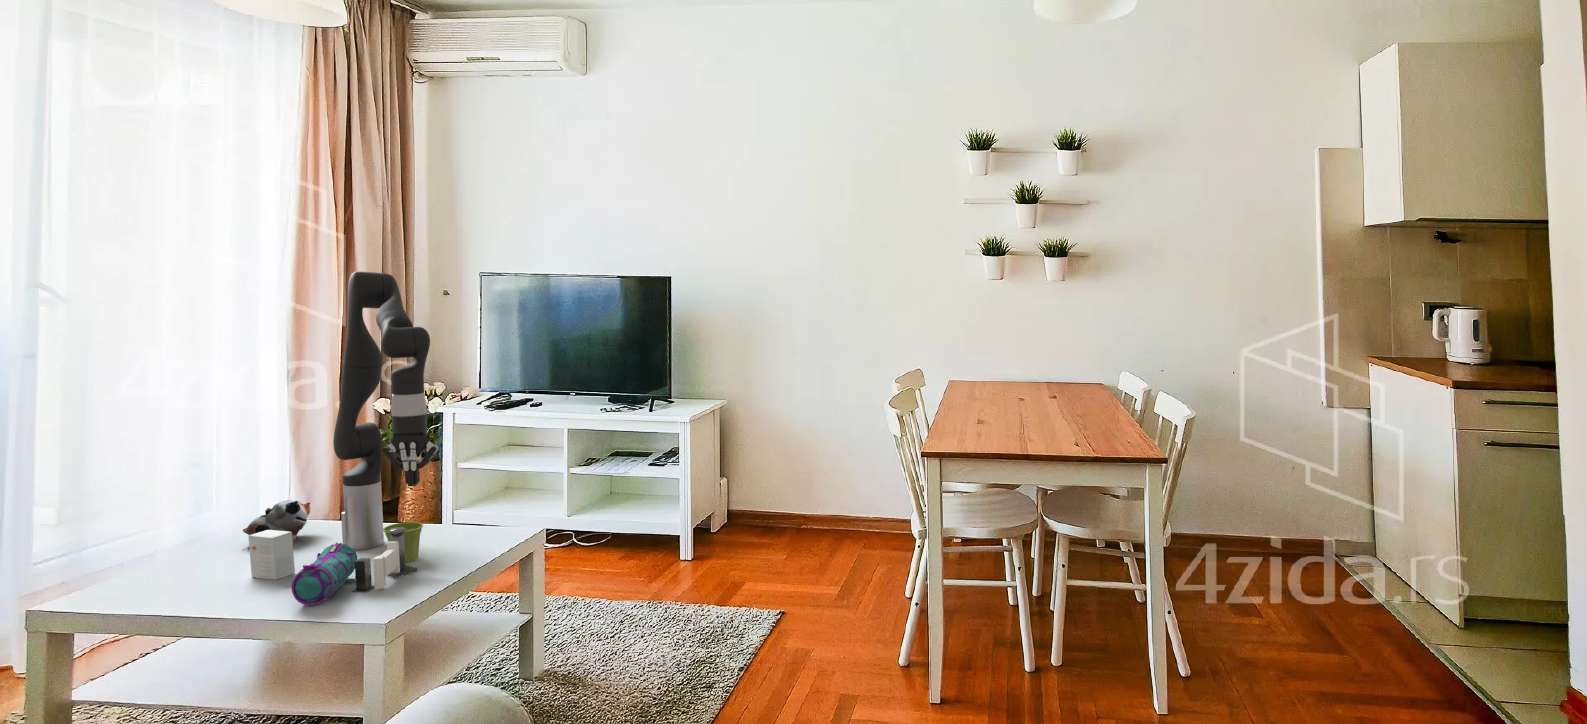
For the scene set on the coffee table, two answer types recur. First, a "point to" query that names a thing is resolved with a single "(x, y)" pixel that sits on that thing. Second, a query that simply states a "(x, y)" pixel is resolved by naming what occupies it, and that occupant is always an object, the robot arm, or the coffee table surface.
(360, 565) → the post
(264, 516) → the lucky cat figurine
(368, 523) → the robot arm
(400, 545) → the post
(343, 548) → the pencil case
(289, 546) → the small box
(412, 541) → the plant pot
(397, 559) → the gate
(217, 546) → the coffee table surface
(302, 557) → the coffee table surface
